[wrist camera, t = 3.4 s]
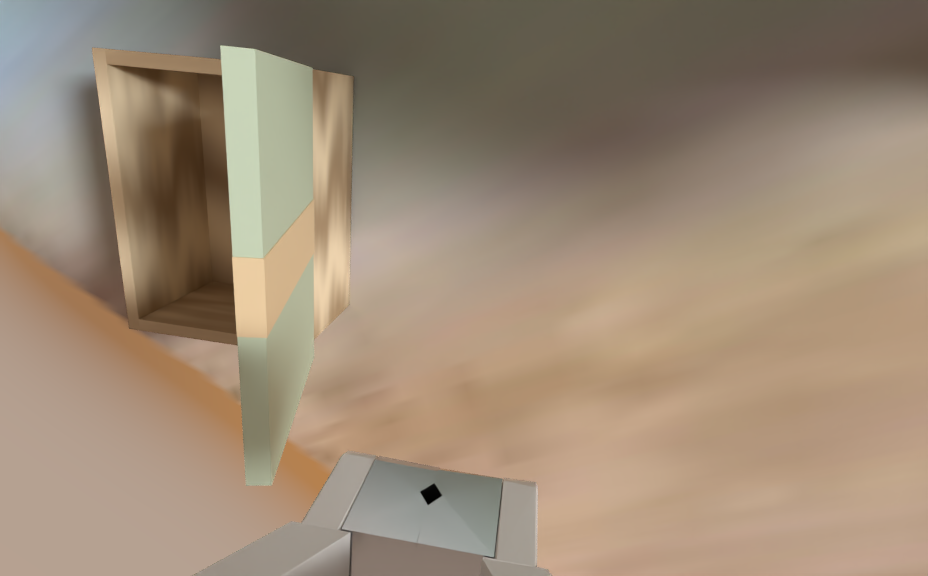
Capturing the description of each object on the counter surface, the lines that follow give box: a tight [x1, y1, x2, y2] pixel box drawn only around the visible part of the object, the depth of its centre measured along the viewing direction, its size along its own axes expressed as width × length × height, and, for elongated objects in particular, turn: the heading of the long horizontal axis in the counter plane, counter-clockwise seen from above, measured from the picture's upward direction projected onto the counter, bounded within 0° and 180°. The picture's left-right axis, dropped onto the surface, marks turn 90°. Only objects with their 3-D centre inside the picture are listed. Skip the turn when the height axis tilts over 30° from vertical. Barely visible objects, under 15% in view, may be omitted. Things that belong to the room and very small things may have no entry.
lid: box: [220, 45, 315, 486], centre depth 19 cm, size 13×9×1 cm
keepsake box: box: [92, 48, 354, 345], centre depth 27 cm, size 13×9×7 cm
